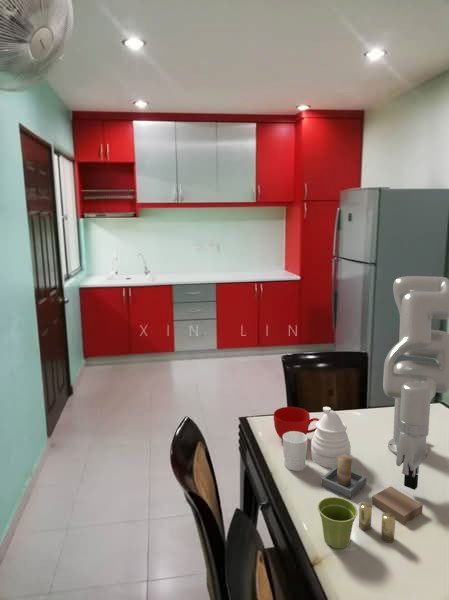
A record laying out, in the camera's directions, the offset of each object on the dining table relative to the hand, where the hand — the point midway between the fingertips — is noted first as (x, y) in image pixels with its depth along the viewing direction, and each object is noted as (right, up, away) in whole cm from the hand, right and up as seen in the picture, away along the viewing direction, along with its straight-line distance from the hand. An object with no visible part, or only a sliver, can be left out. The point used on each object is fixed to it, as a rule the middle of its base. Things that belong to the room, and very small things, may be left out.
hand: (410, 486), depth 122 cm
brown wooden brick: (-6, -4, -6) cm, 9 cm away
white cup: (-31, -1, +17) cm, 35 cm away
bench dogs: (-15, -5, -14) cm, 21 cm away
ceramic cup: (-27, +2, +33) cm, 43 cm away
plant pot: (-26, -6, -16) cm, 31 cm away
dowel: (-18, -1, +5) cm, 19 cm away
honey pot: (-18, 0, +21) cm, 27 cm away
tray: (-18, -2, +5) cm, 19 cm away
